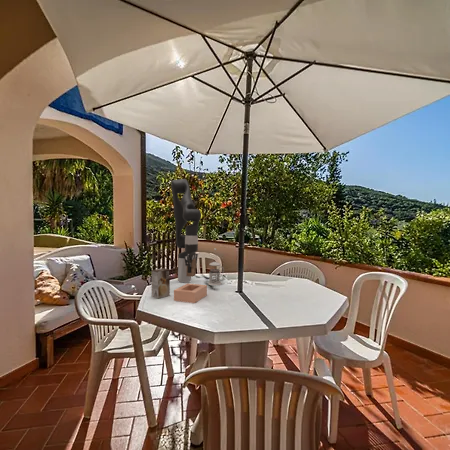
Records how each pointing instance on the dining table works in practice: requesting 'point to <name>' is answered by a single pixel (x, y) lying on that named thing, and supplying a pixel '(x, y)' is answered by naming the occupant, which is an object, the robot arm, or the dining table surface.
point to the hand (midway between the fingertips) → (191, 272)
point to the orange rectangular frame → (190, 293)
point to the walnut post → (192, 269)
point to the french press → (215, 271)
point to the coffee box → (160, 283)
